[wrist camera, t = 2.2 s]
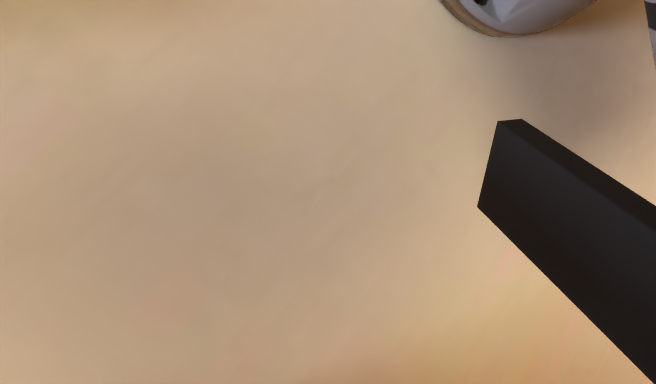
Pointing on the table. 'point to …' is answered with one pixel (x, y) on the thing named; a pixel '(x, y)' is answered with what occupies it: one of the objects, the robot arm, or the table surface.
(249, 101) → the table surface
